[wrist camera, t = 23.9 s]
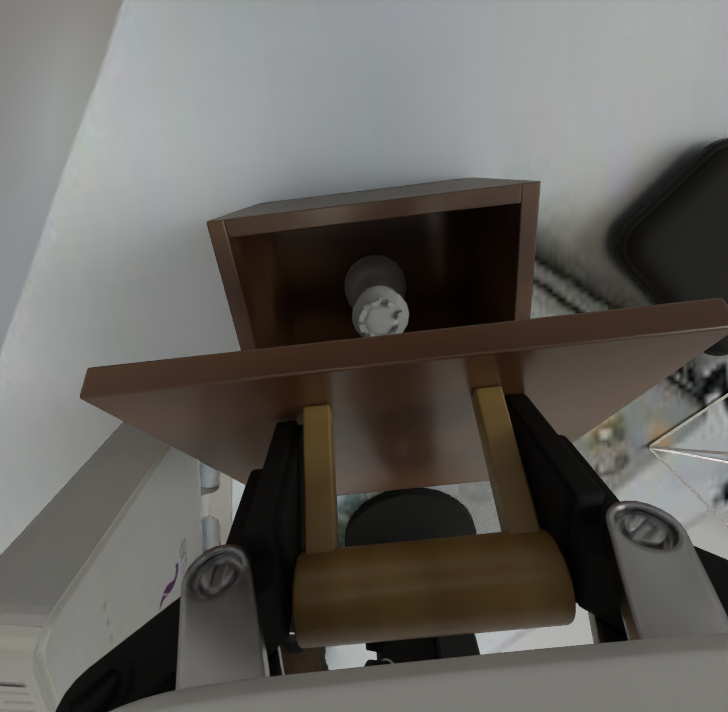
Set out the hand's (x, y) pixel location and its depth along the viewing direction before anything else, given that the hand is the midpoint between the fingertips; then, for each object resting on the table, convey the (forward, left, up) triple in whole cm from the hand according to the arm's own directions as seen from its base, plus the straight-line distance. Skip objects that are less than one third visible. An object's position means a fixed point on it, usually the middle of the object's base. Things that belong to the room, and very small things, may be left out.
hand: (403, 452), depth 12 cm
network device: (+19, -20, -20) cm, 34 cm away
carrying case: (0, +25, -20) cm, 32 cm away
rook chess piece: (0, 0, -19) cm, 19 cm away
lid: (+2, 0, -4) cm, 5 cm away
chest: (+1, 0, -20) cm, 20 cm away
